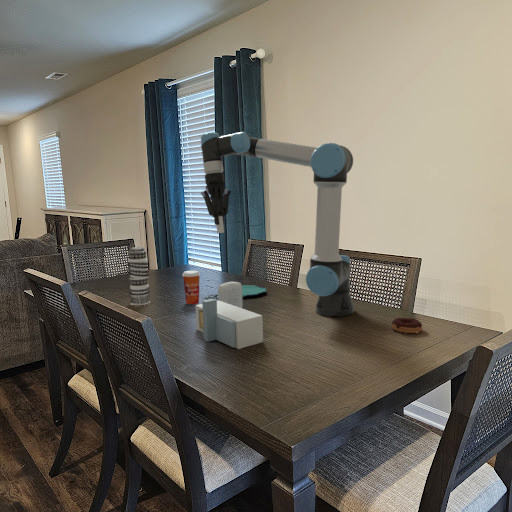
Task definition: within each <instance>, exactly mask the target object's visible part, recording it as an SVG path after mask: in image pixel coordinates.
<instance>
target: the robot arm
mask: <svg viewBox="0 0 512 512" xmlns="http://www.w3.org/2000/svg"><path fill="white" fill-rule="evenodd" d="M200 147H201V153H202V161H203V162H202V163H203V171H204V181H205V182H204V183H205V184H206V185H205V189H204V190H203V191H201V193H200V194H201V196H202V197H203V199H204V203H205V204H206V205H205V206H206V208H207V211H208V214H209V216H212V218H213V220H214V221H213V222H214V225H215V226H216V233H217V234H222V233H223V234H224V233H225V229H224V228H225V226H224V225H225V216H226V215H228V213H229V204H230V194H231V193H232V191H231V189H227V188H226V185H225V175H224V166H223V165H224V164H223V157H228V156H232V155H239V156H247V157H252V158H258V159H265V160H269V161H276V162H282V163H288V164H293V165H297V166H304V167H309V168H311V170H312V172H313V184H314V185H315V186H316V187H317V192H316V194H317V195H316V211H315V212H316V213H315V214H316V216H315V217H316V219H315V238H314V253H313V254H312V255H311V256H310V259H309V260H310V261H309V269H308V271H307V272H306V275H305V282H306V283H305V284H306V287H307V288H308V289H309V291H310V292H312V294H314V295H317V296H318V298H317V301H316V305H315V312H316V313H317V314H318V315H320V316H324V315H325V316H326V317H332V316H337V317H339V316H341V317H347V315H348V316H350V314H351V315H353V314H354V313H355V305H354V303H353V302H354V301H353V299H352V297H351V291H350V288H351V287H350V286H351V285H350V284H351V282H350V281H351V261H350V260H351V257H350V256H348V255H344V254H343V255H342V254H340V253H339V251H340V250H339V249H340V248H339V247H340V235H341V234H340V230H341V229H340V228H341V213H342V212H341V210H342V193H343V192H342V191H343V187H344V186H345V185H346V184H347V180H348V173H349V172H350V171H351V170H352V168H353V165H354V156H353V154H352V152H351V150H350V149H349V148H347V147H346V146H344V145H339V144H337V143H336V142H335V143H333V142H329V143H323V144H320V145H319V146H318V147H316V146H309V145H303V144H296V143H289V142H284V141H278V140H272V139H265V138H264V139H263V138H260V137H259V138H258V137H253V136H249V135H248V134H247V133H246V132H244V131H241V132H235V133H232V134H231V133H230V134H227V135H221V136H220V134H219V133H218V132H206V133H203V134H202V135H201V136H200ZM337 317H336V318H337Z"/></svg>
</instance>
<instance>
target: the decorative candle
mask: <svg viewBox="0 0 512 512" xmlns="http://www.w3.org/2000/svg"><path fill="white" fill-rule="evenodd" d="M127 253H128V260H127V261H126V262H127V264H126V267H127V274H128V278H129V281H130V282H129V283H130V284H129V286H130V287H129V299H130V300H129V301H130V306H132V305H144V306H146V305H145V304H148V303H150V304H151V298H150V297H151V294H149V293H151V292H150V287H149V283H148V282H149V281H148V278H149V277H150V274H149V270H148V269H149V262H148V259H147V250H146V249H145V248H144V247H141V246H136V247H135V246H134V247H130V248H129V250H128V251H127ZM148 305H149V304H148Z"/></svg>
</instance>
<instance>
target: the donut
mask: <svg viewBox="0 0 512 512" xmlns="http://www.w3.org/2000/svg"><path fill="white" fill-rule="evenodd" d="M422 326H423V324H422V322H420V321H419V320H418V319H416V318H410V317H406V318H405V317H397V318H396V317H395V318H394V319H393V320H392V322H391V328H392V330H394V331H395V330H396V332H398V331H399V332H398V333H401V332H406V333H405V334H407V333H416V332H419V333H421V332H422V331H423V327H422ZM420 331H421V332H420ZM416 334H417V333H416Z"/></svg>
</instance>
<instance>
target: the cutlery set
mask: <svg viewBox="0 0 512 512" xmlns="http://www.w3.org/2000/svg"><path fill="white" fill-rule="evenodd" d="M241 285H242V299H244V298H245V297H255V296H258V295H262V294H266V293H267V291H268V289H267V288H265V287H262V286H258V285H255V284H254V285H252V284H251V285H250V284H249V285H248V284H246V285H245V284H244V285H243V284H241ZM209 296H211V297H209ZM212 296H215V297H214V299H215V298H216V299H215V300H218V294H217V293H216V294H210V295H208V296H204V298H203V300H208V299H212Z"/></svg>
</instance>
